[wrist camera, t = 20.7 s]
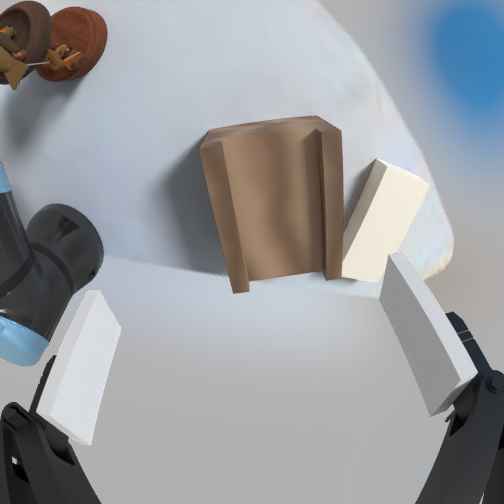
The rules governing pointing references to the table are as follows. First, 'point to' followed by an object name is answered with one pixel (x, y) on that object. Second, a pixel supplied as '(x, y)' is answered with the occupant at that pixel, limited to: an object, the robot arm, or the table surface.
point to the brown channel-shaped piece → (277, 197)
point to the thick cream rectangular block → (380, 220)
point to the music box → (49, 42)
